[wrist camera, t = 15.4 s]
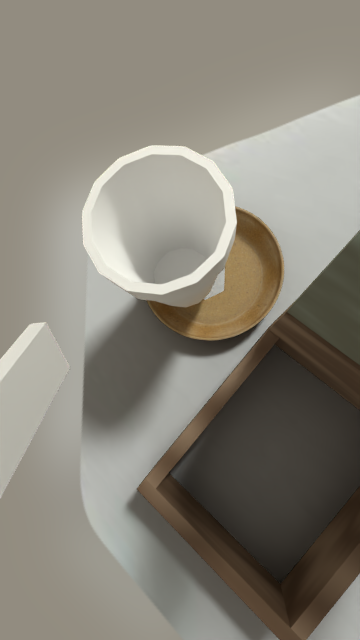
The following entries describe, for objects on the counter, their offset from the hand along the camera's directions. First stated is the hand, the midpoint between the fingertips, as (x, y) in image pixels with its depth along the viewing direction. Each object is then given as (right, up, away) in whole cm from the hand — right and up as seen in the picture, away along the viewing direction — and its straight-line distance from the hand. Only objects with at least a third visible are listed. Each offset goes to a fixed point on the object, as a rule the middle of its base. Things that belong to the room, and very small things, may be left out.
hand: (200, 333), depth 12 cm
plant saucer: (+3, +5, +20) cm, 21 cm away
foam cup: (-1, +5, +18) cm, 19 cm away
